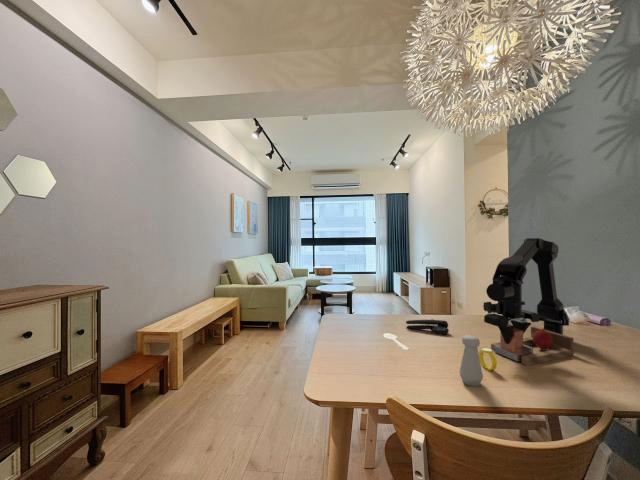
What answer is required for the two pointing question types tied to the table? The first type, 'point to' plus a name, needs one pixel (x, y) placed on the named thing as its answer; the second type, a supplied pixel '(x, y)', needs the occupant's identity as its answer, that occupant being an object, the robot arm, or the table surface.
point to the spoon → (394, 337)
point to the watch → (494, 362)
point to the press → (514, 346)
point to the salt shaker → (471, 362)
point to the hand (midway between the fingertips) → (511, 342)
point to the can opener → (429, 326)
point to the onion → (542, 339)
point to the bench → (559, 348)
